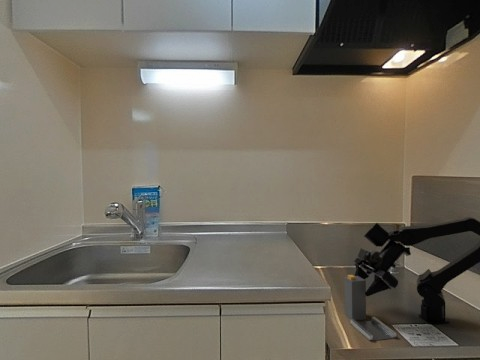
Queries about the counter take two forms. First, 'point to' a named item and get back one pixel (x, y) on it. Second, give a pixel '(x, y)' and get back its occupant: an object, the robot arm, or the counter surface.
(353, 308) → the block
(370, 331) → the rail seat
